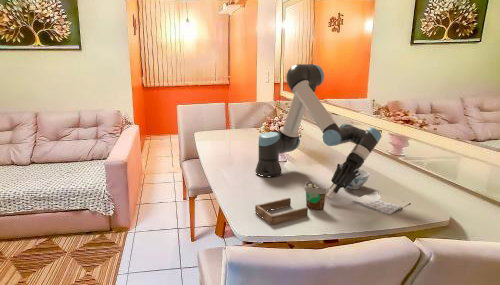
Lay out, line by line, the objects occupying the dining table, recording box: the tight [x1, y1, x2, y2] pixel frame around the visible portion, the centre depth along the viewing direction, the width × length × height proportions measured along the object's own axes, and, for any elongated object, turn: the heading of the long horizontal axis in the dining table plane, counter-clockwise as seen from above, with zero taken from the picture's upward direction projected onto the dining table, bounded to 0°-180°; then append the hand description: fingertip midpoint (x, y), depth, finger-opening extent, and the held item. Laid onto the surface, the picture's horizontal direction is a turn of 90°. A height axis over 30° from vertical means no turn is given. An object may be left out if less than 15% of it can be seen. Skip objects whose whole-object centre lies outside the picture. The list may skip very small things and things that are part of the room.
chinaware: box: [346, 168, 370, 190], centre depth 176 cm, size 15×15×8 cm
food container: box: [303, 180, 328, 211], centre depth 151 cm, size 12×6×10 cm, turn 23°
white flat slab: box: [351, 190, 402, 216], centre depth 156 cm, size 19×20×2 cm
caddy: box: [254, 197, 309, 226], centre depth 144 cm, size 13×18×4 cm
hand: (328, 197), depth 155 cm, fingers closed
